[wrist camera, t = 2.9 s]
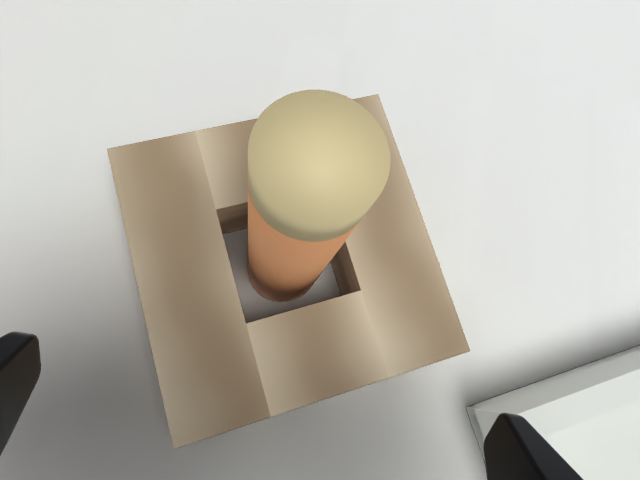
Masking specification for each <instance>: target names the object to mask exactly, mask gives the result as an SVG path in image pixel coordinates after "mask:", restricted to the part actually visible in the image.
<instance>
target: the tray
mask: <svg viewBox="0 0 640 480" xmlns="http://www.w3.org/2000/svg"><path fill="white" fill-rule="evenodd" d="M466 409H467V412H468V415H469V418H470V421H471V424H472V427H473V430H474V432H475V435H476V438H477V441H478V444H479V447H480V450H481V453H482V455H483V458H484V461H485V457H484V441H485V438H486V436H487V434H488V432H489V431H490V429H491V427H492V425H493V424H494V422H495V420H496V418H497V417H498V415H499V414H501V413H510V414H516V415H520V416H522V417H524V418H525V419H526V420H527V421H528V422H529V423H530V424H531V425H532V426H533V427H534V428H535V429H536V431H537V432H538V433H539V434H540V435H541V436H542V437H543V438H544V439H545V440H546V441H547V442H548V443H549V444H550V445H551V446H552V447H553V448H554V449H555V450H556V451H557V452H558V453H559V454H560V456H561V457H562V458H563V459H564V460H565V461H566V462H567V463H568V464H569V465H570V466H571V467H572V468H573V469H574V470H575V471H576V472H577V473H578V474H579V475H580V476H581V477H582V478H583V479H584V480H640V345H639V346H636V347H633V348H631V349H628V350H625V351H622V352H619V353H617V354H614V355H611V356H608V357H605V358H603V359H600V360H597V361H594V362H591V363H589V364H586V365H583V366H580V367H577V368H575V369H572V370H569V371H566V372H563V373H561V374H558V375H555V376H552V377H549V378H547V379H544V380H541V381H538V382H535V383H533V384H530V385H527V386H524V387H521V388H519V389H516V390H513V391H510V392H507V393H505V394H502V395H499V396H496V397H493V398H491V399H488V400H485V401H482V402H479V403H477V404H474V405H471V406H468V407H466Z"/></svg>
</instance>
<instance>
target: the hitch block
mask: <svg viewBox="0 0 640 480" xmlns="http://www.w3.org/2000/svg"><path fill="white" fill-rule="evenodd" d="M352 100H354V101H356V102H357V103H359V104H360V105H362V106H363V107H364V108H365V109H367V110H368V111H369V112H370V113H371V114H372V115H373V116H374V118H375V119H376V120H377V122H378V123H379V124H380V126H381V128H382V130H383V131H384V134H385V136H386V138H387V141H388V145H389V149H390V172H389V176H388V180H387V182H386V185H385V187H384V189H383V191H382V192H381V194H380V196H379V197H378V198H377V200H376V201H375V202H374V204H373V205H372V206H371V208H370V209H369V210H368V212H367V213H366V214H365V216H364V217H363V218H362V220H361V221H360V222H359V224H358V225H357V226H356V228H355V229H354V230H353V232H352V233H351V234H350V236H349V237H348V238H347V240H346V241H345V242H344V244H343V245H342V246H341V248H340V249H339V250H338V252H337V253H336V254H335V256H334V257H333V258H332V260H331V263H332V266H333V270H334V273H335V276H336V279H337V283H338V286H339V289H340V292H341V295H342V296H340V297H336V298H333V299H329V300H326V301H322V302H319V303H315V304H312V305H308V306H305V307H301V308H298V309H295V310H291V311H288V312H284V313H281V314H277V315H274V316H270V317H267V318H263V319H260V320H256V321H253V322H249V323H246V321H245V318H244V314H243V310H242V306H241V302H240V299H239V295H238V291H237V287H236V284H235V280H234V276H233V272H232V268H231V265H230V261H229V257H228V253H227V250H226V246H225V242H224V238H223V234H224V233H228V232H232V231H236V230H241V229H245V228H248V143H249V138H250V134H251V131H252V129H253V126H254V124H255V123H256V121H257V119H253V120H248V121H243V122H238V123H233V124H228V125H223V126H218V127H213V128H208V129H203V130H198V131H193V132H188V133H183V134H178V135H173V136H168V137H163V138H158V139H153V140H148V141H143V142H138V143H134V144H129V145H124V146H119V147H114V148H109V149H107V151H108V155H109V160H110V164H111V169H112V173H113V178H114V182H115V187H116V192H117V196H118V201H119V205H120V210H121V214H122V219H123V223H124V228H125V232H126V237H127V241H128V246H129V250H130V255H131V259H132V264H133V268H134V273H135V278H136V282H137V287H138V291H139V296H140V300H141V305H142V309H143V314H144V318H145V323H146V327H147V332H148V336H149V341H150V345H151V350H152V355H153V359H154V364H155V368H156V373H157V377H158V382H159V386H160V391H161V395H162V400H163V404H164V409H165V413H166V418H167V422H168V427H169V432H170V436H171V441H172V445H173V449H176V448H179V447H182V446H185V445H188V444H191V443H194V442H197V441H201V440H204V439H207V438H210V437H213V436H216V435H219V434H222V433H225V432H228V431H231V430H234V429H237V428H240V427H243V426H246V425H249V424H252V423H255V422H258V421H261V420H264V419H267V418H270V417H273V416H276V415H279V414H282V413H285V412H288V411H291V410H294V409H297V408H300V407H303V406H306V405H309V404H312V403H315V402H318V401H321V400H324V399H327V398H330V397H333V396H336V395H339V394H342V393H345V392H348V391H351V390H354V389H357V388H360V387H363V386H366V385H369V384H372V383H376V382H379V381H382V380H385V379H388V378H391V377H394V376H397V375H400V374H403V373H406V372H409V371H412V370H415V369H418V368H421V367H424V366H427V365H430V364H433V363H436V362H439V361H442V360H445V359H448V358H451V357H454V356H457V355H460V354H463V353H466V352H469V351H470V349H469V346H468V343H467V341H466V338H465V335H464V332H463V329H462V327H461V324H460V321H459V318H458V315H457V313H456V310H455V307H454V304H453V302H452V299H451V296H450V293H449V290H448V288H447V285H446V282H445V279H444V276H443V274H442V271H441V268H440V265H439V262H438V260H437V257H436V254H435V251H434V249H433V246H432V243H431V240H430V237H429V235H428V232H427V229H426V226H425V223H424V221H423V218H422V215H421V212H420V209H419V207H418V204H417V201H416V198H415V196H414V193H413V190H412V187H411V184H410V182H409V179H408V176H407V173H406V170H405V168H404V165H403V162H402V159H401V156H400V154H399V151H398V148H397V145H396V143H395V140H394V137H393V134H392V131H391V129H390V126H389V123H388V120H387V117H386V115H385V112H384V109H383V106H382V103H381V101H380V98H379V95H378V94H377V95H372V96H367V97H362V98H357V99H352Z"/></svg>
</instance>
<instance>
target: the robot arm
mask: <svg viewBox="0 0 640 480" xmlns="http://www.w3.org/2000/svg"><path fill="white" fill-rule="evenodd" d="M40 371H41V362H40V351H39V341H38V338H37V336H36V335H33V334H28V333H22V332H11V333H8V334H6V335H4V336H2V337H0V455H1V454H2V452H3V450H4V448H5V446H6V444H7V442H8V440H9V438H10V436H11V434H12V432H13V430H14V428H15V426H16V424H17V421H18V419H19V417H20V415H21V413H22V411H23V409H24V407H25V405H26V403H27V401H28V399H29V397H30V395H31V393H32V391H33V389H34V387H35V385H36V383H37V381H38V378H39V375H40ZM484 457H485V465H486V473H487V480H584V479H583V478H582V477H581V476H580V475H579V474H578V473H577V472H576V471H575V470H574V469H573V468H572V467H571V466H570V465H569V464H568V463H567V462H566V461H565V460H564V459H563V458H562V457H561V456H560V454H559V453H558V452H557V451H556V450H555V449H554V448H553V447H552V446H551V445H550V444H549V443H548V442H547V441H546V440H545V439H544V438H543V437H542V436H541V435H540V434H539V433H538V432H537V431H536V429H535V428H534V427H533V426H532V425H531V424H530V423H529V422H528V421H527V420H526V419H525V418H524V417H522V416H520V415H516V414H510V413H501V414H499V415H498V417H497V418H496V420H495V422H494V424H493V425H492V427H491V429H490V431H489V432H488V434H487V436H486V438H485V441H484Z"/></svg>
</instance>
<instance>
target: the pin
mask: <svg viewBox="0 0 640 480" xmlns="http://www.w3.org/2000/svg"><path fill="white" fill-rule="evenodd" d="M389 172H390V149H389V145H388V141H387V138H386V136H385V134H384V131H383V130H382V128H381V126H380V124H379V123H378V122H377V120H376V119H375V118H374V116H373V115H372V114H371V113H370V112H369V111H368V110H367V109H365V108H364V107H363V106H362V105H360V104H359V103H357V102H356V101H354V100H352V99H350V98H348V97H346V96H344V95H341V94H338V93H335V92H330V91H325V90H305V91H299V92H295V93H291V94H289V95H286V96H284V97H282V98H280V99H278V100H277V101H275V102H274V103H272V104H271V105H270V106H269V107H268V108H266V109H265V110H264V111H263V113H262V114H261V115H260V116H259V118H258V119H257V121H256V123H255V124H254V126H253V129H252V131H251V134H250V138H249V143H248V274H249V278H250V281H251V283H252V285H253V287H254V288H255V290H256V291H257V292H258V293H259V294H260V295H262V296H263V297H265V298H266V299H268V300H271V301H274V302H290V301H293V300H296V299H298V298H300V297H301V296H303V295H304V294H305V293H306V292H307V291H308V290H309V289H310V287H311V286H312V285H313V284H314V282H315V281H316V280H317V278H318V277H319V276H320V274H321V273H322V272H323V270H324V269H325V268H326V266H327V265H328V264H329V262H330V261H331V260H332V258H333V257H334V256H335V254H336V253H337V252H338V250H339V249H340V248H341V246H342V245H343V244H344V242H345V241H346V240H347V238H348V237H349V236H350V234H351V233H352V232H353V230H354V229H355V228H356V226H357V225H358V224H359V222H360V221H361V220H362V218H363V217H364V216H365V214H366V213H367V212H368V210H369V209H370V208H371V206H372V205H373V204H374V202H375V201H376V200H377V198H378V197H379V196H380V194H381V192H382V191H383V189H384V187H385V185H386V182H387V180H388V176H389Z"/></svg>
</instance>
